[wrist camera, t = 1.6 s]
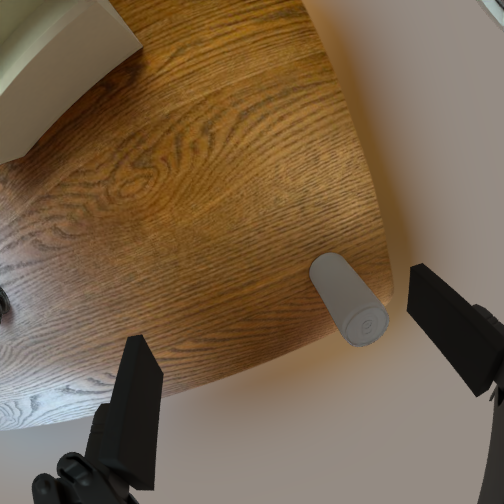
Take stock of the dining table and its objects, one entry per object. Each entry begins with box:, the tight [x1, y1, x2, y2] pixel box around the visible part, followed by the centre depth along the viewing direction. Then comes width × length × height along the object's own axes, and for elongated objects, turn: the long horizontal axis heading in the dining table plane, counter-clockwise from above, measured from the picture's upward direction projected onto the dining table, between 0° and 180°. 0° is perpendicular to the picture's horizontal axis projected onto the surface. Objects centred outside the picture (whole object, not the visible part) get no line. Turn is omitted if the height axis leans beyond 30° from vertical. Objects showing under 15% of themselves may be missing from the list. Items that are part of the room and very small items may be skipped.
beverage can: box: [309, 252, 389, 347], centre depth 32 cm, size 5×5×12 cm
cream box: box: [0, 0, 143, 164], centre depth 16 cm, size 18×15×14 cm
